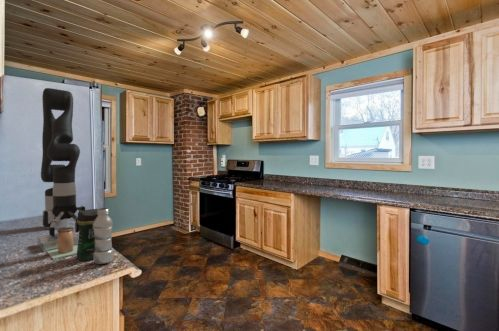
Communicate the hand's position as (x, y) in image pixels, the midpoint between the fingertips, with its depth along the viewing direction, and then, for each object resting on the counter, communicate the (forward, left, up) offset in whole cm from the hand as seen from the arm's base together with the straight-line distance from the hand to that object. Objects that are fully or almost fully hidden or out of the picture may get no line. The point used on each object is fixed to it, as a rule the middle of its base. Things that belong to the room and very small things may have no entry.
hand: (65, 234), depth 105 cm
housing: (-12, 0, -7) cm, 14 cm away
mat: (0, 0, -7) cm, 7 cm away
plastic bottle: (+21, +7, -8) cm, 23 cm away
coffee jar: (+12, +6, -8) cm, 15 cm away
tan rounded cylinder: (0, 0, -7) cm, 7 cm away
